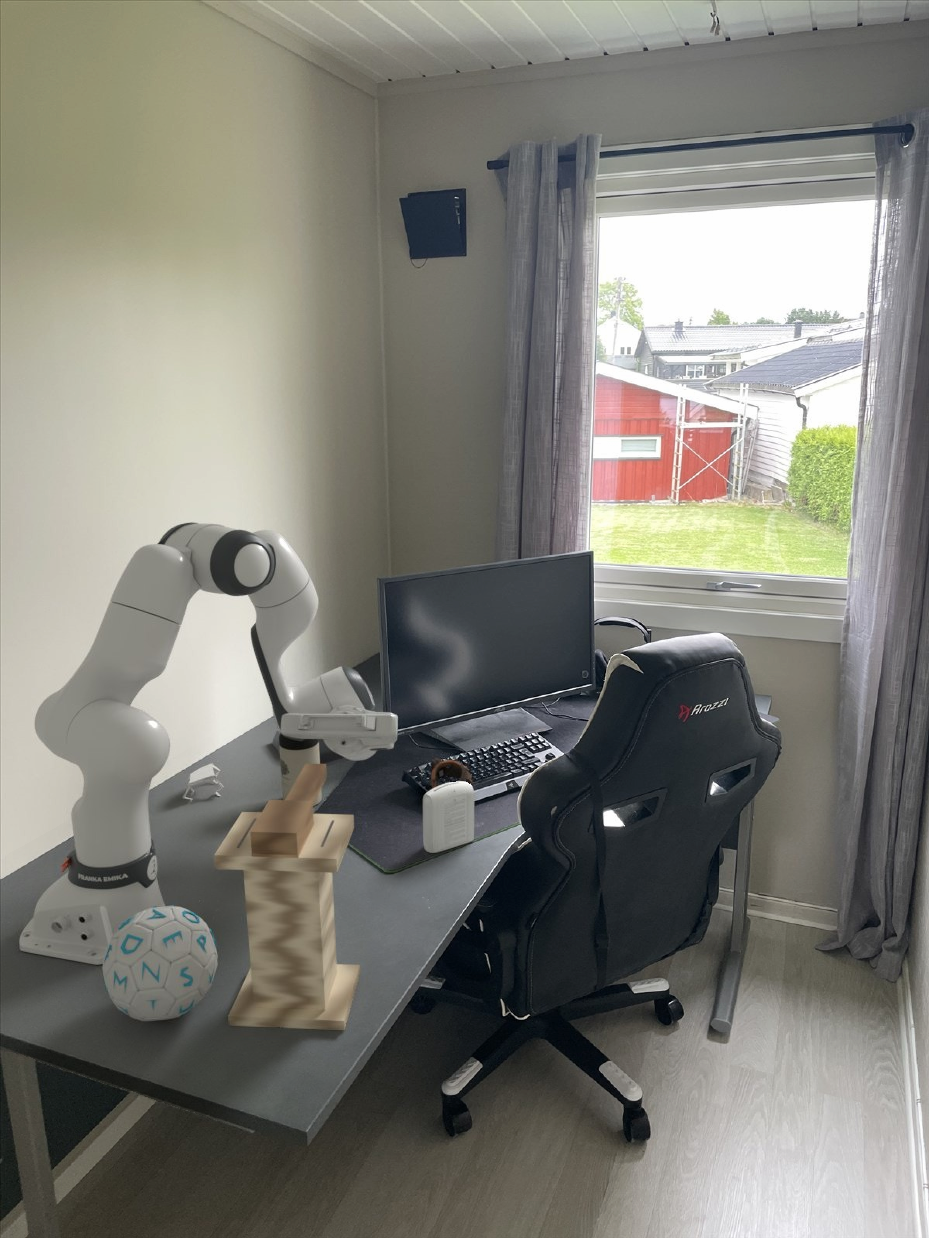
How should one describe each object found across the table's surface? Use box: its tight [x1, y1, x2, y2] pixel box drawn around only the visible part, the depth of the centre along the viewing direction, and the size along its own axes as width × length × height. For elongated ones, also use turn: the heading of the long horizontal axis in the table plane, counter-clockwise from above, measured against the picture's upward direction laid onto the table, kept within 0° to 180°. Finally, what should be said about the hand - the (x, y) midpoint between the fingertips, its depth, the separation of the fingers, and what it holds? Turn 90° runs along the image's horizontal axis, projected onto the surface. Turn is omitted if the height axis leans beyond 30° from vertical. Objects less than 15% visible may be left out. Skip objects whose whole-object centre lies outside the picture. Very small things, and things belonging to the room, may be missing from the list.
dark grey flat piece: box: [272, 730, 351, 767], centre depth 213 cm, size 13×19×4 cm
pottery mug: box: [430, 757, 473, 789], centre depth 192 cm, size 12×10×8 cm
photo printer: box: [422, 781, 475, 854], centre depth 170 cm, size 10×4×12 cm, turn 123°
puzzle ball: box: [102, 904, 219, 1022], centre depth 125 cm, size 15×15×15 cm
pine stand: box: [213, 811, 361, 1031], centre depth 126 cm, size 16×12×26 cm
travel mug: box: [279, 733, 323, 807], centre depth 186 cm, size 8×8×18 cm
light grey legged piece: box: [182, 763, 224, 803], centre depth 192 cm, size 12×8×5 cm
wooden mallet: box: [250, 763, 328, 858], centre depth 127 cm, size 6×24×4 cm, turn 176°
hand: (332, 720), depth 150 cm, fingers open, 8 cm apart
